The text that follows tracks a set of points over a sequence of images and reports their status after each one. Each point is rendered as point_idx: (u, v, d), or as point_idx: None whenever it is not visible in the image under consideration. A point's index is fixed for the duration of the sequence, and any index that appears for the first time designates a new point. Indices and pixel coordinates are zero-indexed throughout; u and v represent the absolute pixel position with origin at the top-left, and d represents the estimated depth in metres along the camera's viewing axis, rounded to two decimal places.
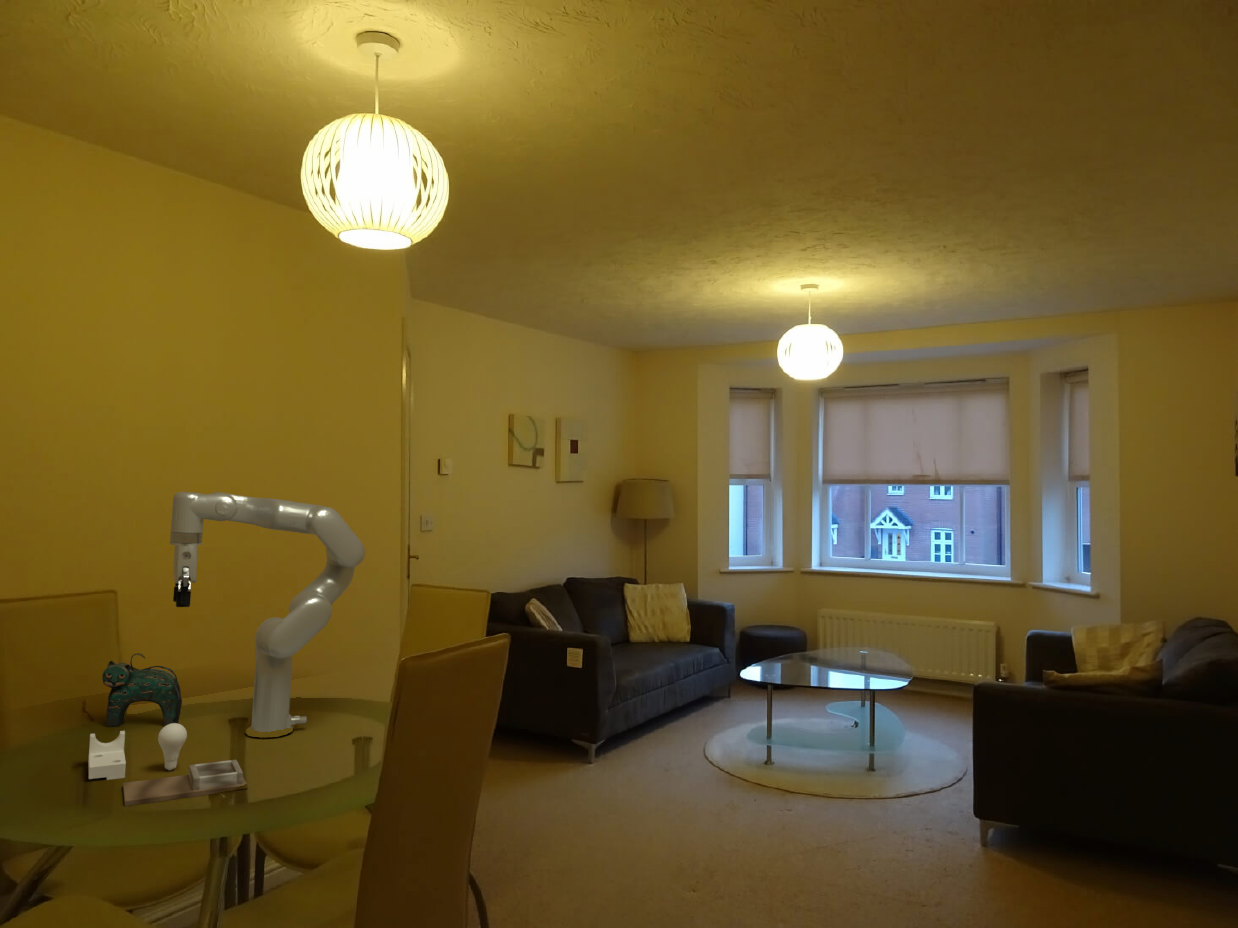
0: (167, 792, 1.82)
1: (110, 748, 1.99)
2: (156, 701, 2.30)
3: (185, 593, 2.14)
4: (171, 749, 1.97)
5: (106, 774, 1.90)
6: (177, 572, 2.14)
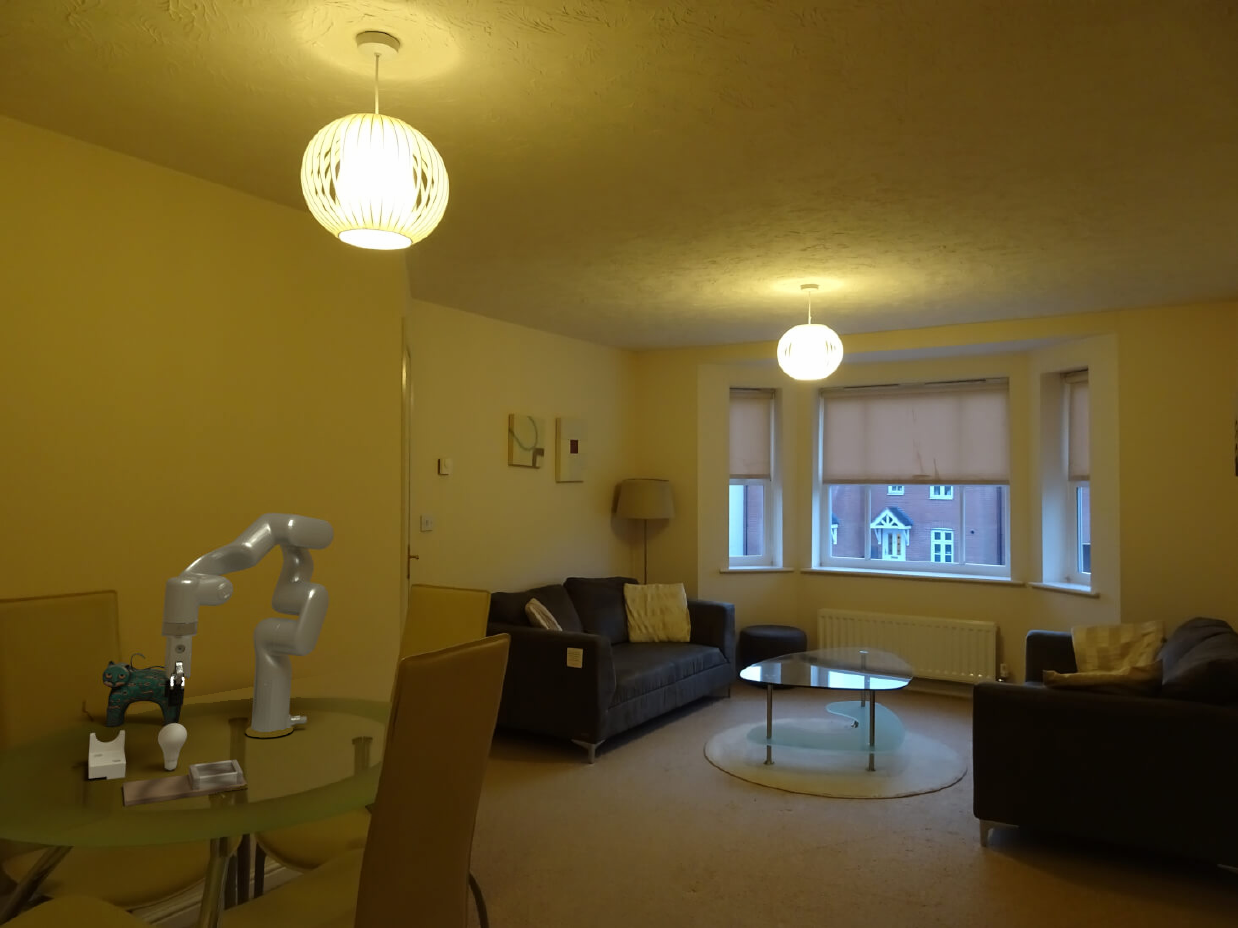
0: (167, 792, 1.82)
1: (110, 748, 2.00)
2: (156, 701, 2.30)
3: (178, 690, 1.94)
4: (171, 749, 1.97)
5: (106, 773, 1.90)
6: (169, 668, 1.94)
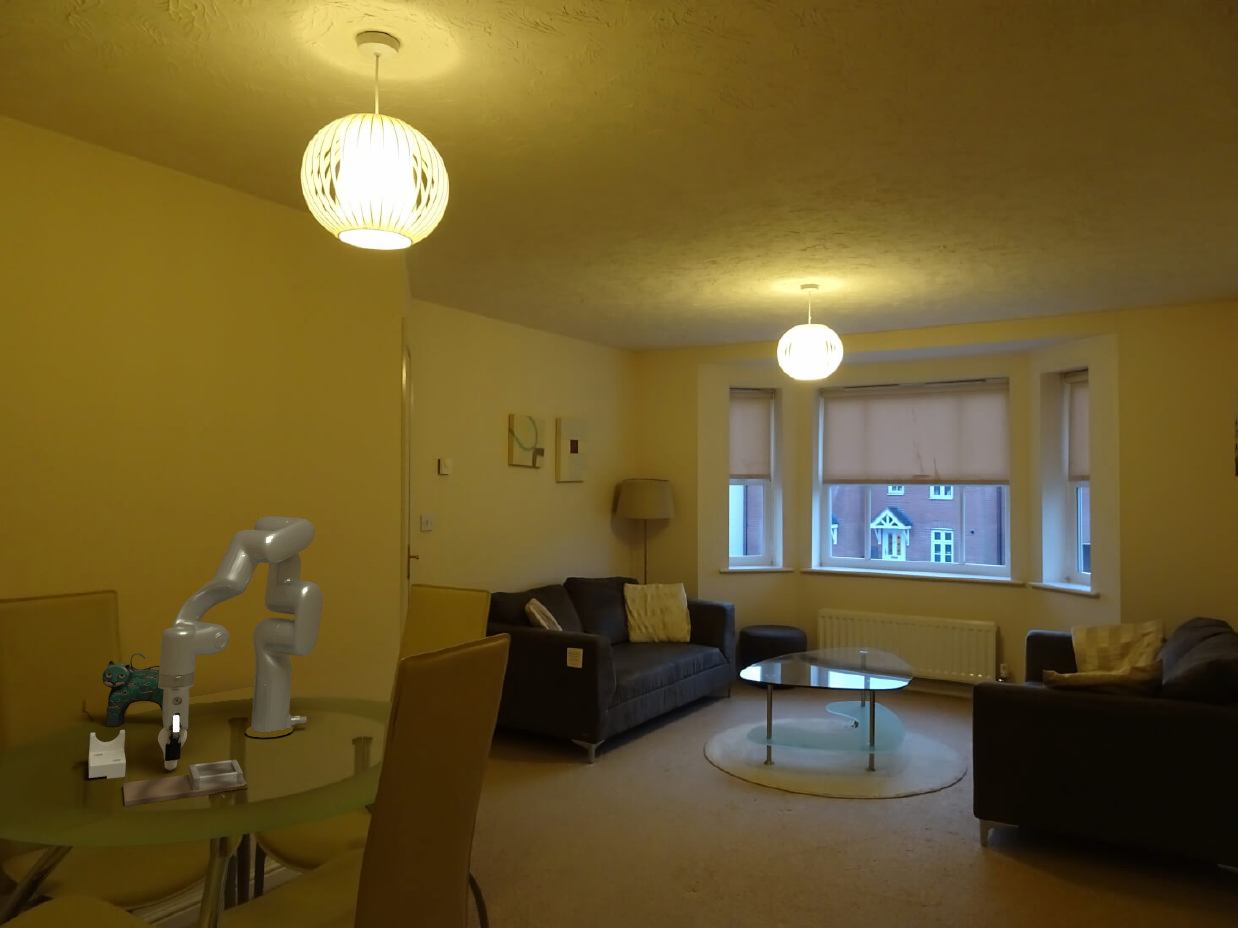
0: (167, 792, 1.82)
1: (110, 747, 2.00)
2: (156, 701, 2.30)
3: (175, 745, 1.95)
4: None
5: (106, 773, 1.91)
6: (167, 720, 1.94)
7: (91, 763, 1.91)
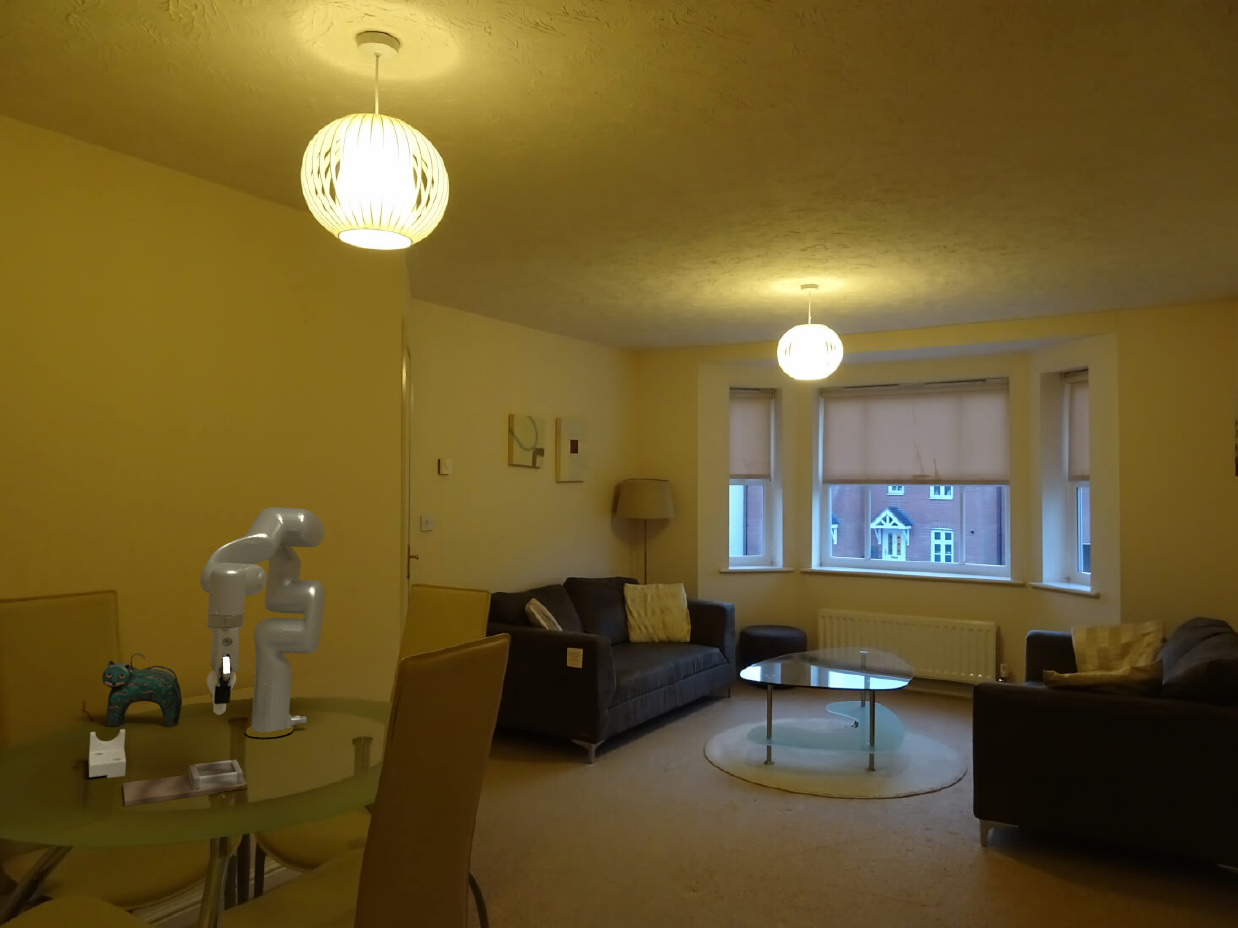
0: (167, 792, 1.82)
1: (110, 746, 2.01)
2: (156, 701, 2.30)
3: (224, 688, 1.88)
4: None
5: (106, 772, 1.91)
6: (217, 661, 1.87)
7: (91, 762, 1.92)
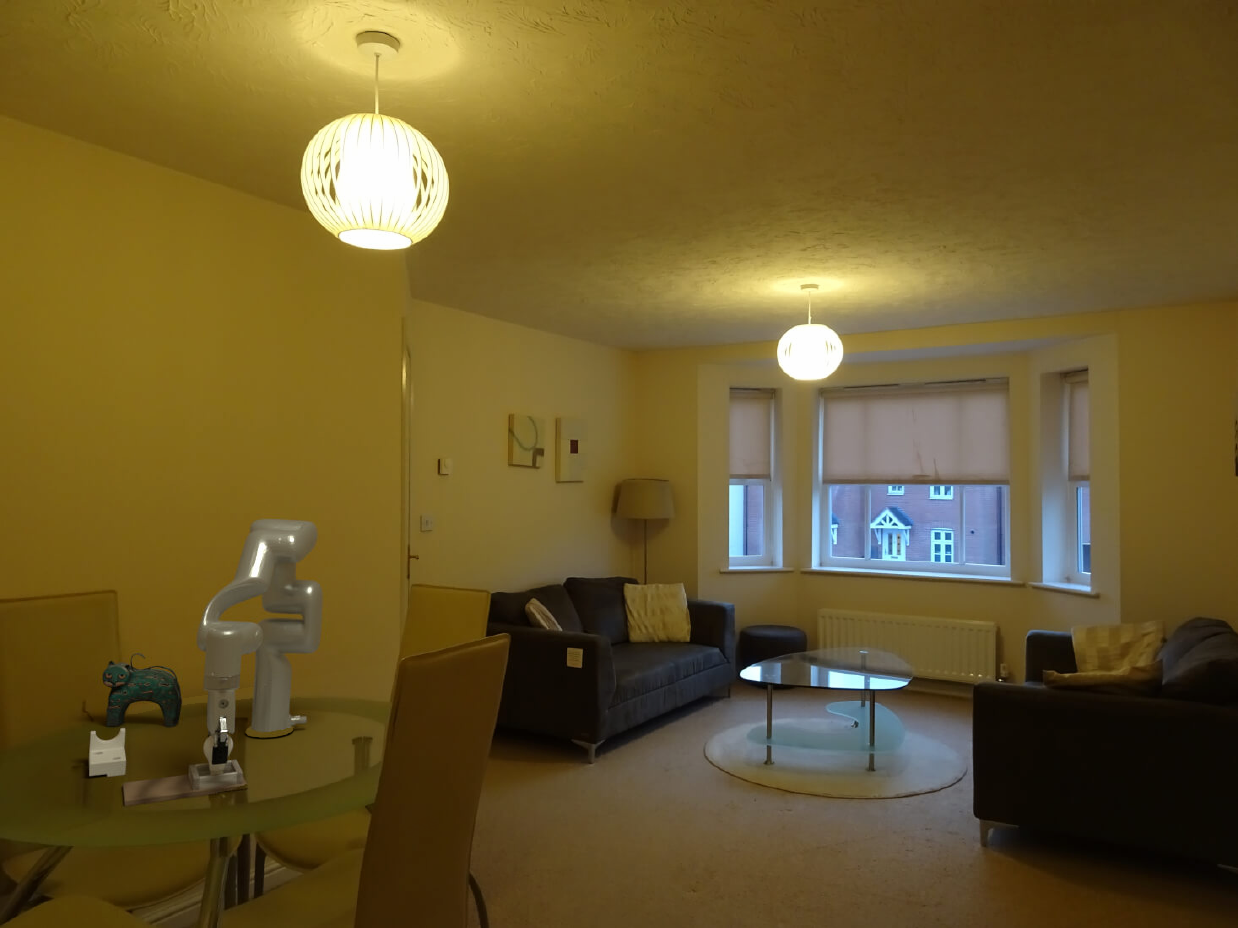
0: (167, 792, 1.82)
1: (111, 745, 2.01)
2: (156, 701, 2.30)
3: (222, 748, 1.87)
4: None
5: (107, 771, 1.92)
6: (213, 724, 1.86)
7: (91, 761, 1.92)
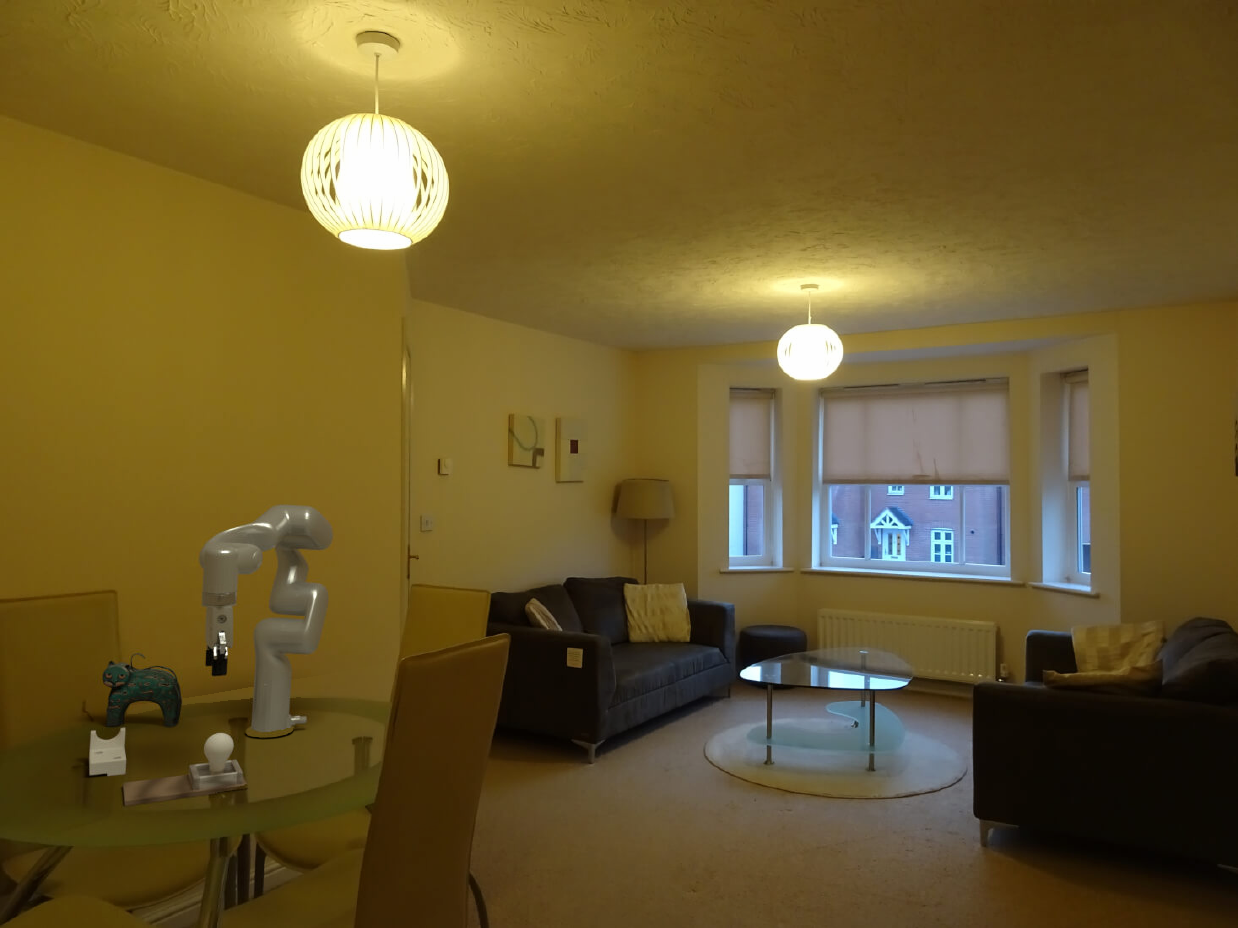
0: (167, 792, 1.82)
1: (111, 745, 2.02)
2: (156, 701, 2.30)
3: (221, 660, 1.94)
4: (218, 760, 1.88)
5: (107, 770, 1.92)
6: (212, 638, 1.93)
7: (92, 760, 1.93)
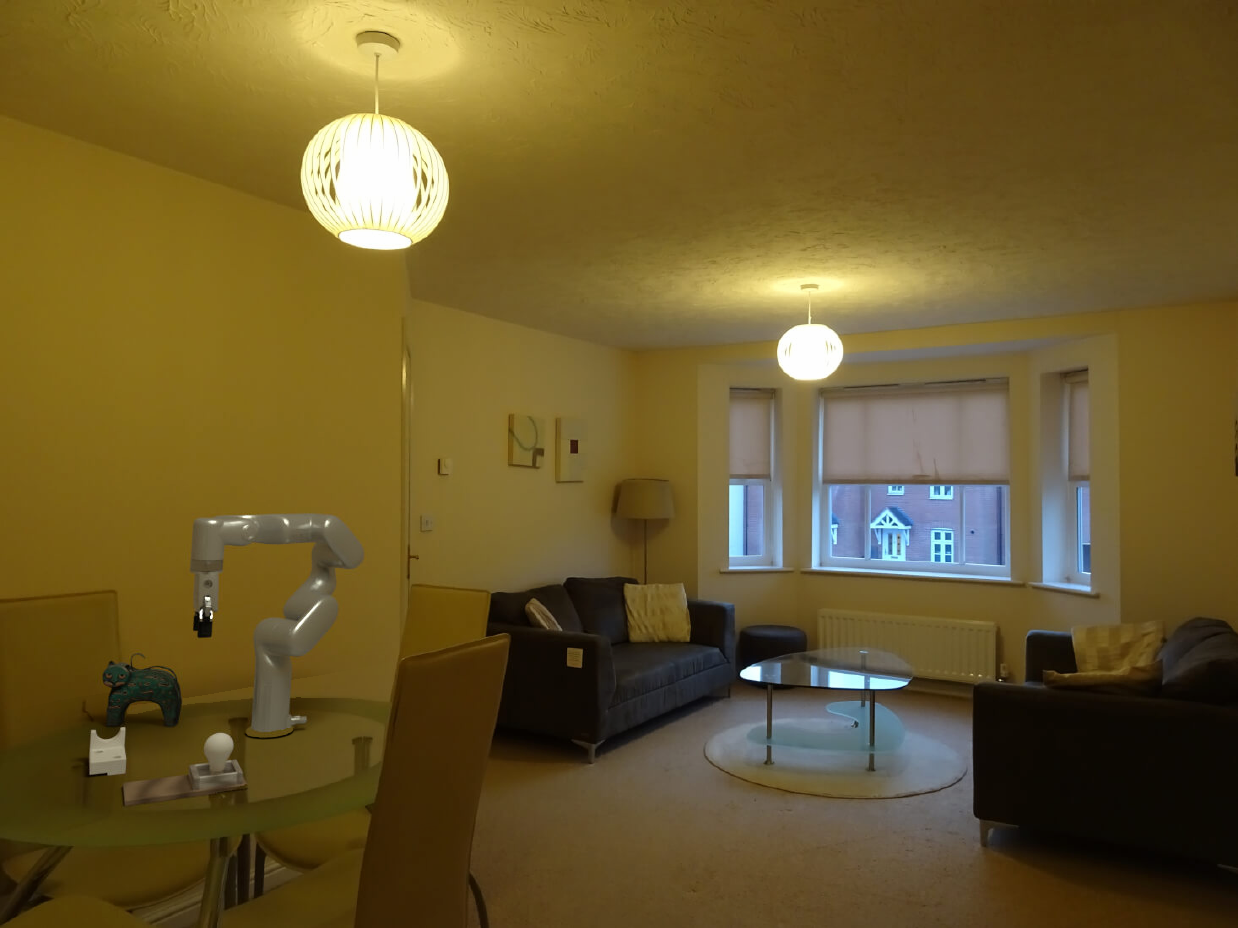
0: (167, 792, 1.82)
1: (111, 744, 2.02)
2: (156, 701, 2.30)
3: (207, 623, 2.06)
4: (218, 760, 1.88)
5: (107, 770, 1.93)
6: (198, 601, 2.06)
7: (92, 760, 1.93)
